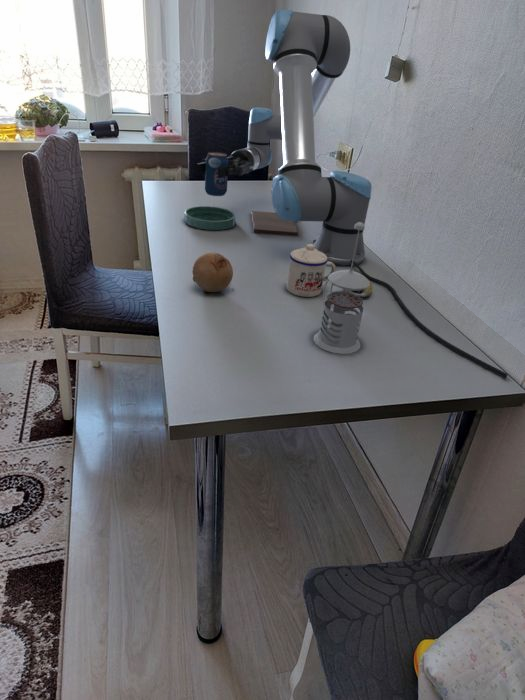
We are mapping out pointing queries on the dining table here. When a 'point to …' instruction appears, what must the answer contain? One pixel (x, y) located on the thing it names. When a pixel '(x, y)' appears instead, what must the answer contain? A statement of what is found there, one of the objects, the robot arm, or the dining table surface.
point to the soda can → (215, 174)
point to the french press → (342, 310)
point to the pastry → (362, 291)
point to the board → (272, 224)
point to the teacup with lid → (307, 271)
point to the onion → (212, 272)
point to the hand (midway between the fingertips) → (208, 170)
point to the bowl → (209, 218)
